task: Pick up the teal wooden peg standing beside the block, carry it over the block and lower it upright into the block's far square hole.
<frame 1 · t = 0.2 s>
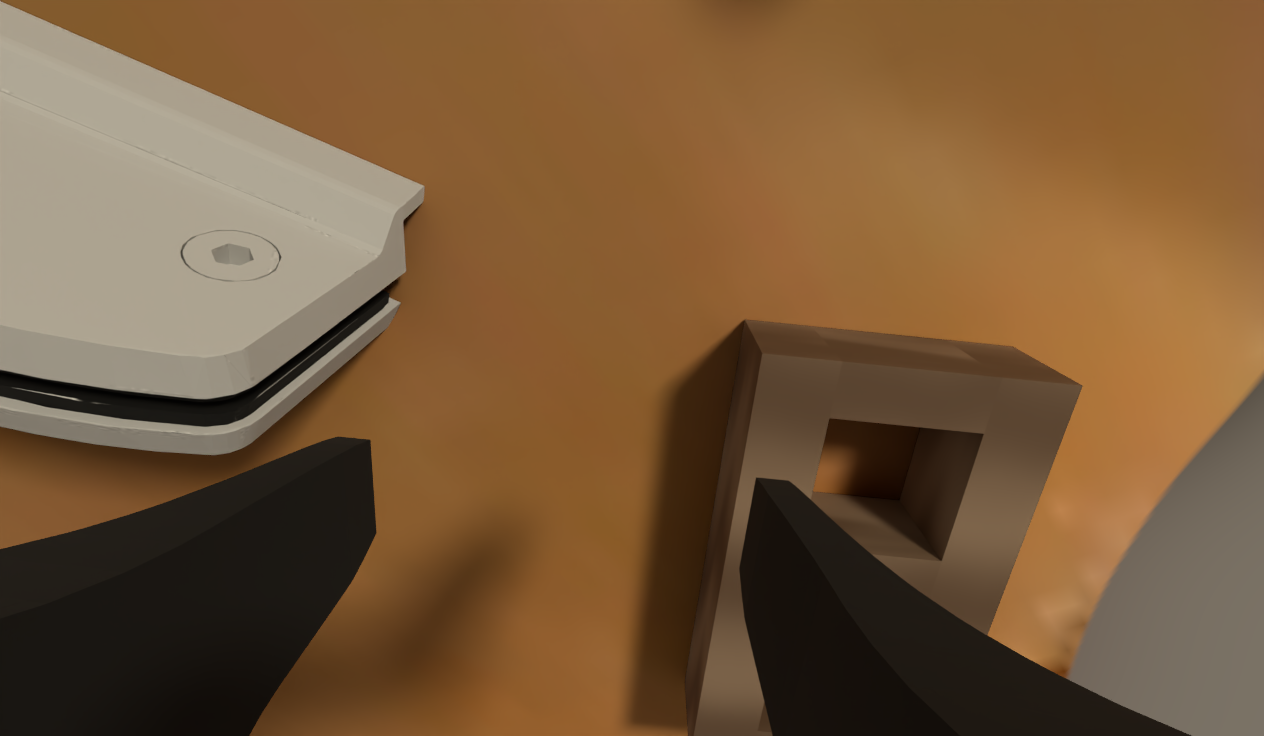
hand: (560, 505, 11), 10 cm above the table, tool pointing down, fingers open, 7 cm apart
hinge: (163, 197, 20), on the table
hole block: (829, 533, 23), on the table
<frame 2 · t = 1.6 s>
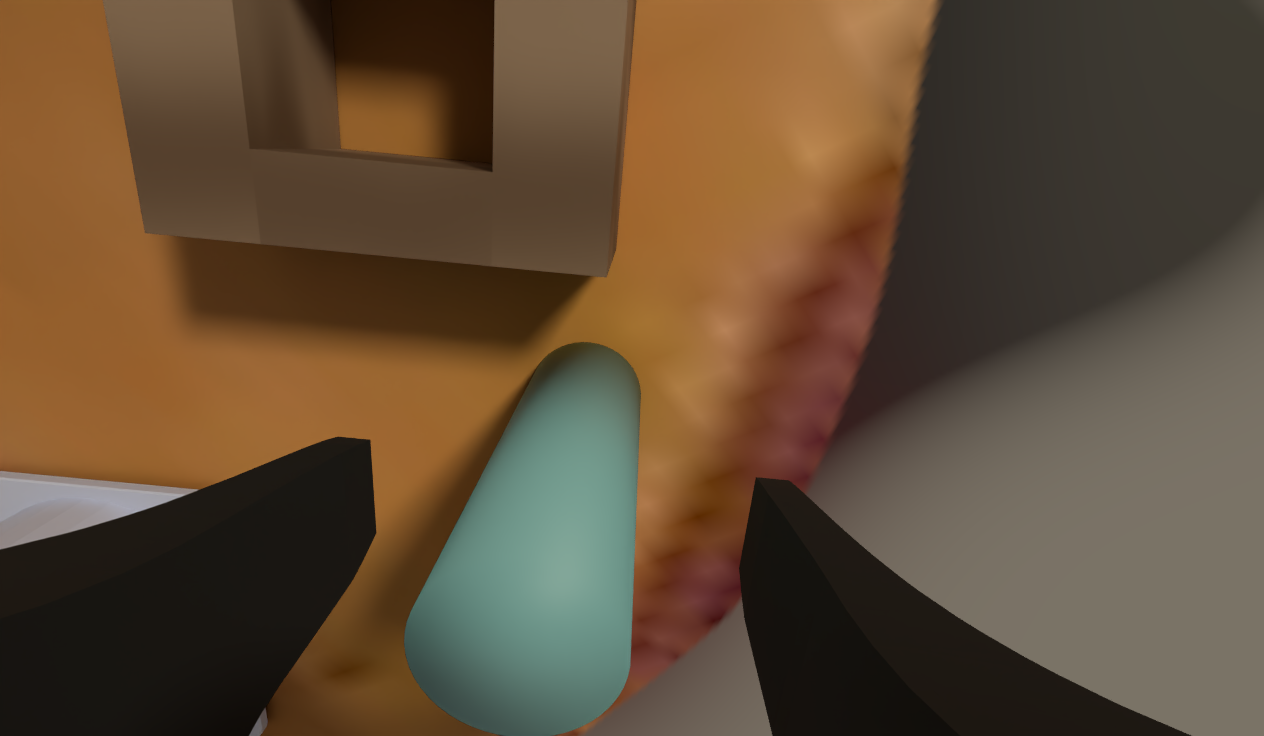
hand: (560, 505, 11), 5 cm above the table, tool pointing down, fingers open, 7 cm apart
peg: (585, 394, 16), on the table
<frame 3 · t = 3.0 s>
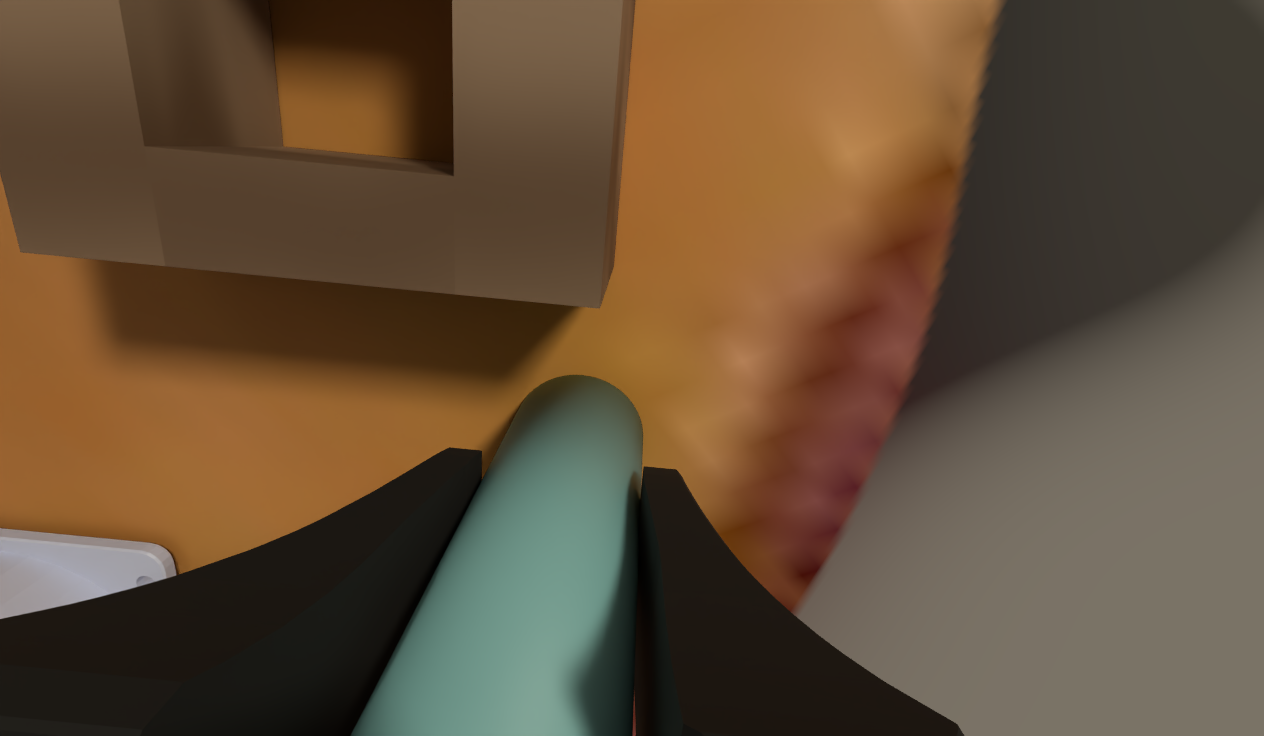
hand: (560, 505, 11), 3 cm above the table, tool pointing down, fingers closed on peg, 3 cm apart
peg: (578, 435, 14), on the table, touching gripper
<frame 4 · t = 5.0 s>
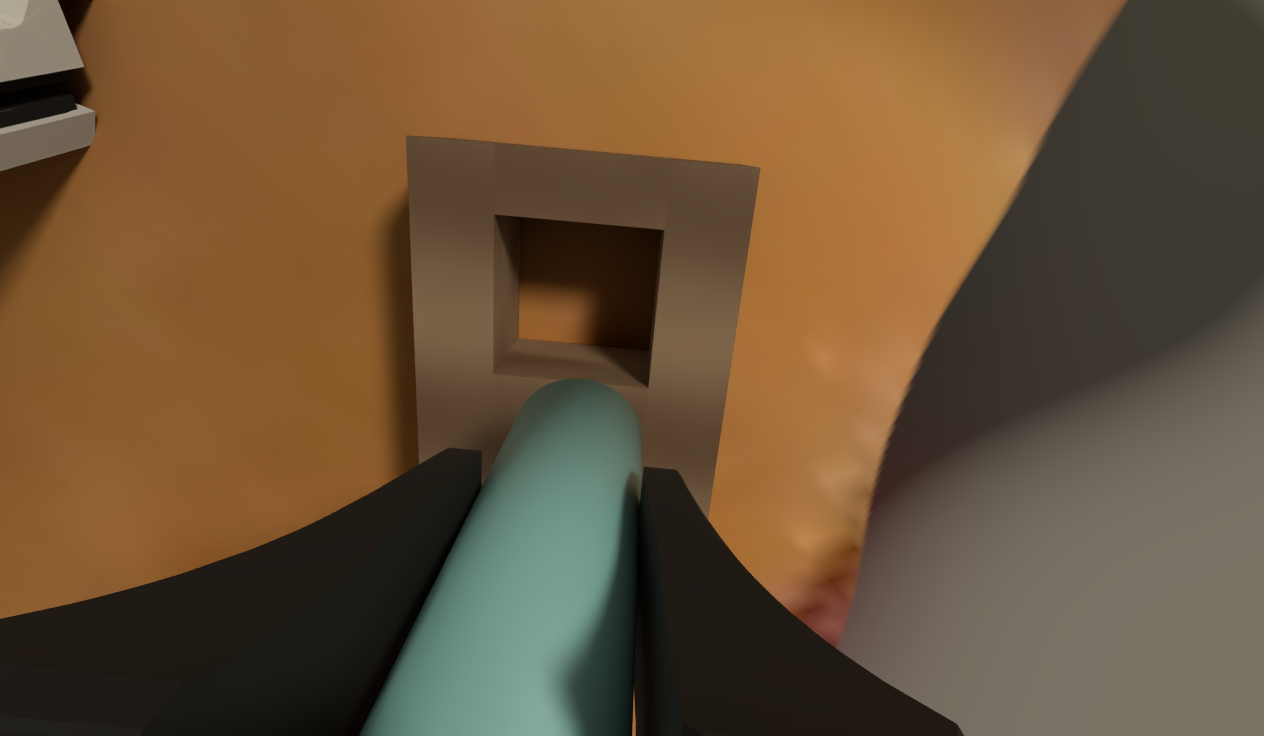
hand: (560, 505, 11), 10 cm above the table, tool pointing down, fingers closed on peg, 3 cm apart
hole block: (580, 391, 21), on the table
peg: (578, 438, 14), point 7 cm above the table, touching gripper
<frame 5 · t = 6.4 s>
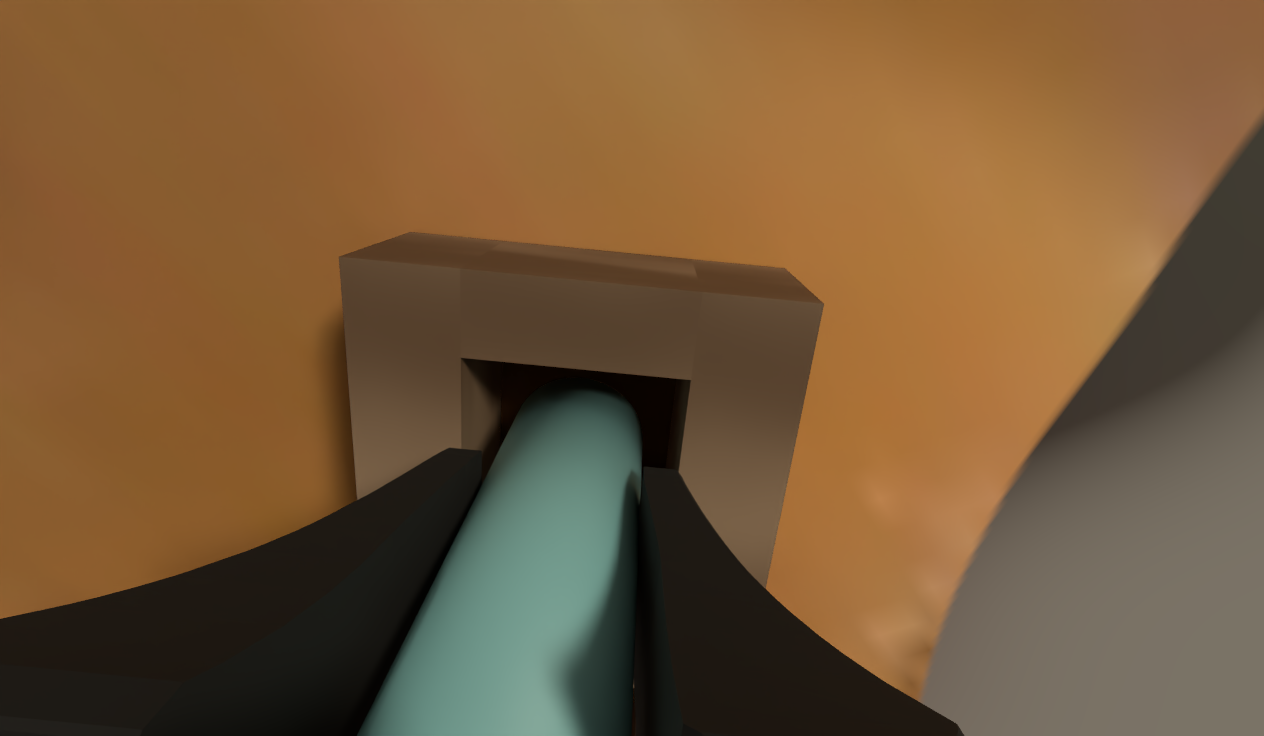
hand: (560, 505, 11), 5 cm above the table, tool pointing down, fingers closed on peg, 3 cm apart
hole block: (577, 532, 17), on the table
peg: (578, 437, 14), point 2 cm above the table, touching gripper
when the fingers open (4 cm above the table, at t = 7.3 s): peg drops 1 cm, resting in hole block.
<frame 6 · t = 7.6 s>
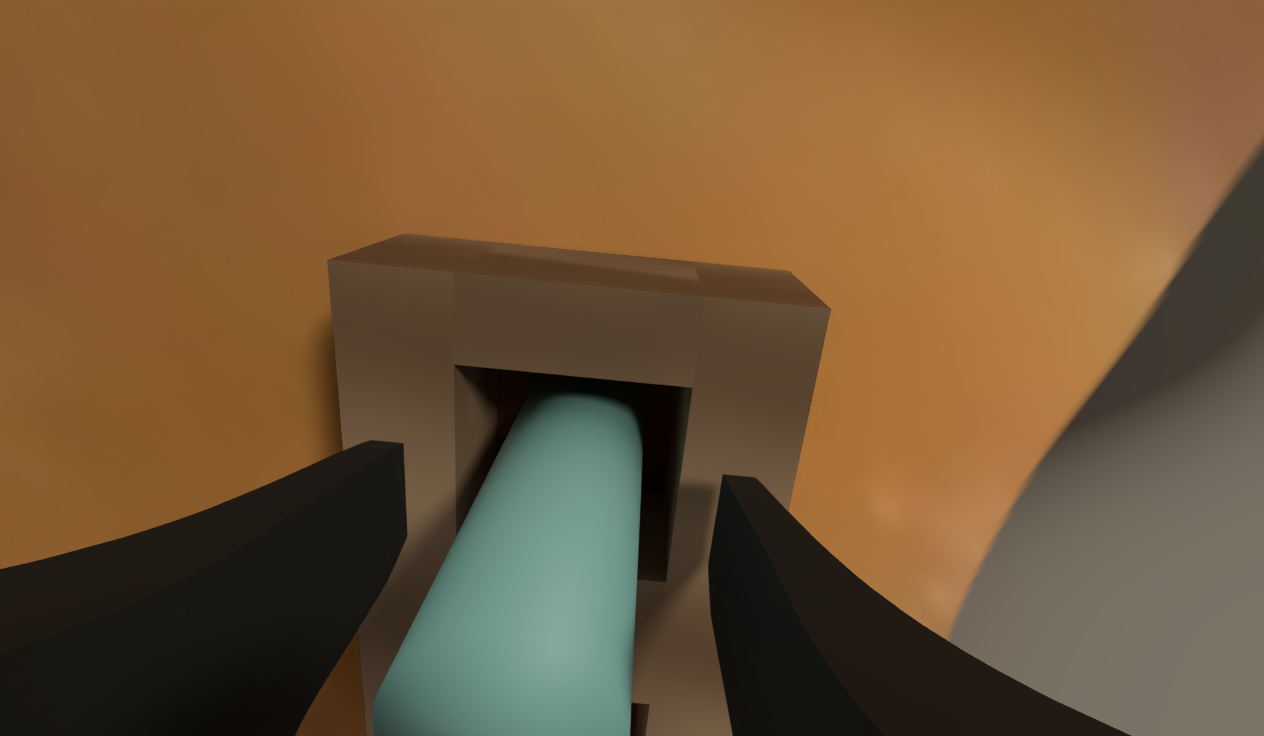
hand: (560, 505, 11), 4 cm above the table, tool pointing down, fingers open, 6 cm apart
hole block: (576, 540, 17), on the table
peg: (585, 411, 15), resting in hole block
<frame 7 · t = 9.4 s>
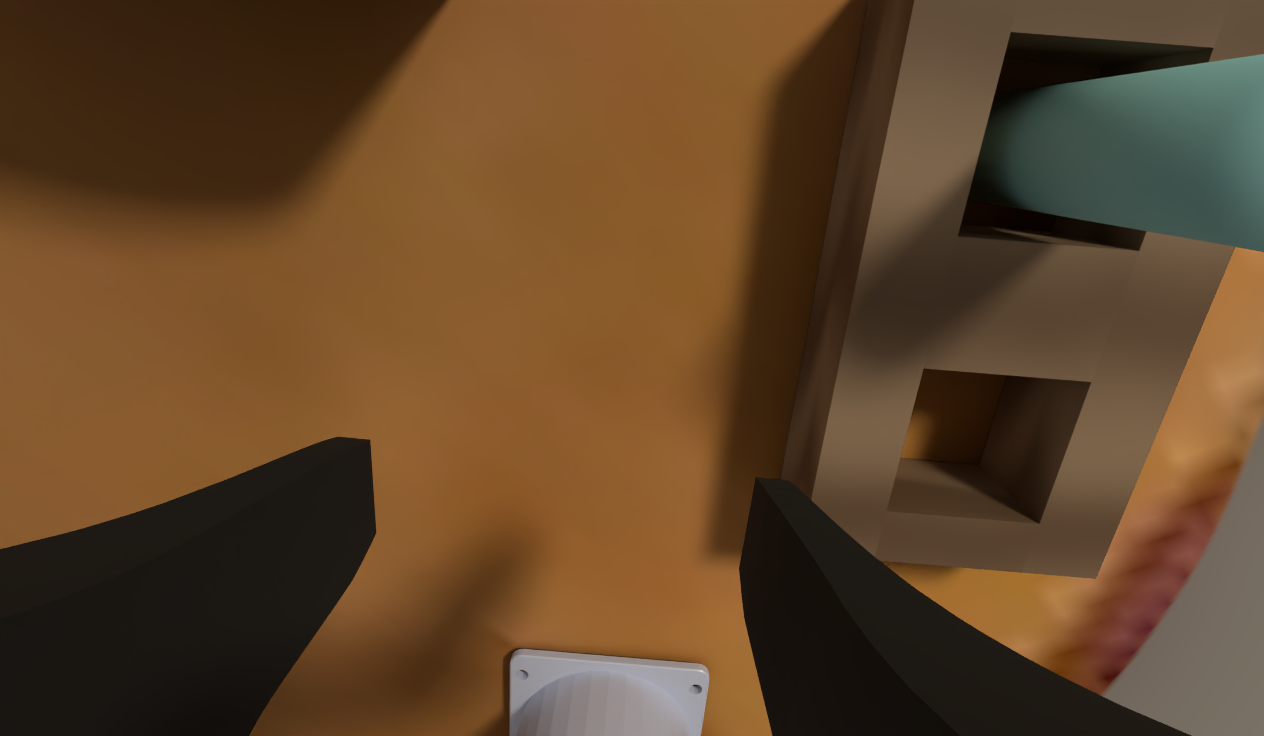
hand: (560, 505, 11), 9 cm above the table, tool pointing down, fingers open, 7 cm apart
hole block: (962, 282, 19), on the table
peg: (998, 148, 18), resting in hole block
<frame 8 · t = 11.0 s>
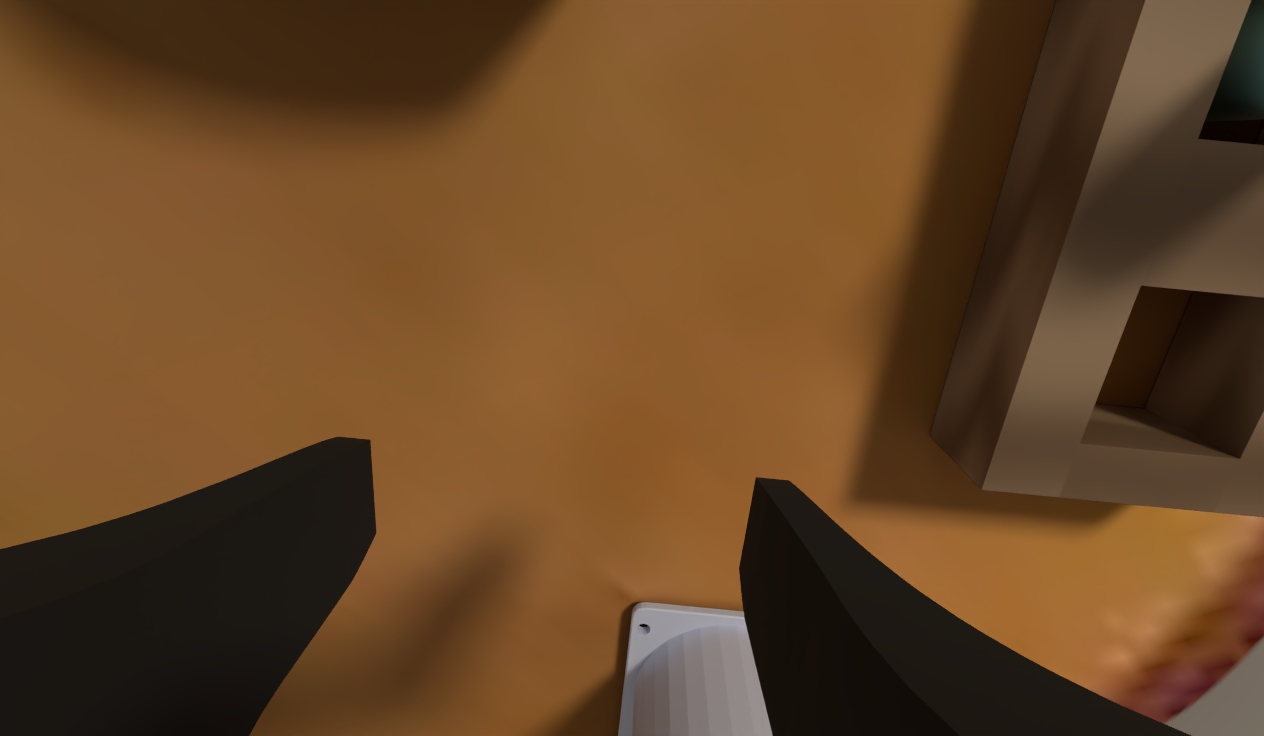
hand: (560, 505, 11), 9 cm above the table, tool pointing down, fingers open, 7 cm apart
hole block: (1149, 210, 18), on the table
peg: (1204, 64, 17), resting in hole block
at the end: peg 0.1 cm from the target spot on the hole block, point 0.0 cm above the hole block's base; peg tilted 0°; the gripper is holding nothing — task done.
